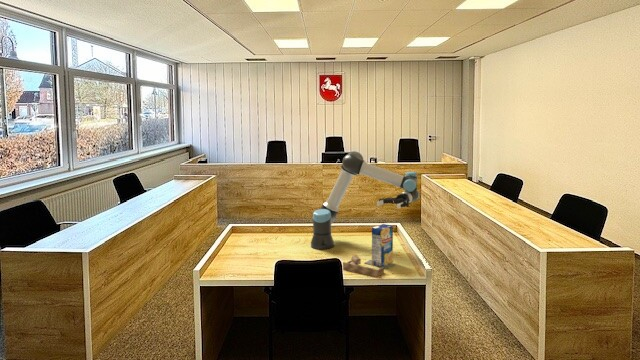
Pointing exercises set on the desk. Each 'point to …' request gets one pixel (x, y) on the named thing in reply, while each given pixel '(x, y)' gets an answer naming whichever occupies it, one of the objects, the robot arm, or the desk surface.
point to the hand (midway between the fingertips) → (387, 205)
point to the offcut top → (356, 259)
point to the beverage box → (382, 245)
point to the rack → (362, 269)
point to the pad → (379, 266)
